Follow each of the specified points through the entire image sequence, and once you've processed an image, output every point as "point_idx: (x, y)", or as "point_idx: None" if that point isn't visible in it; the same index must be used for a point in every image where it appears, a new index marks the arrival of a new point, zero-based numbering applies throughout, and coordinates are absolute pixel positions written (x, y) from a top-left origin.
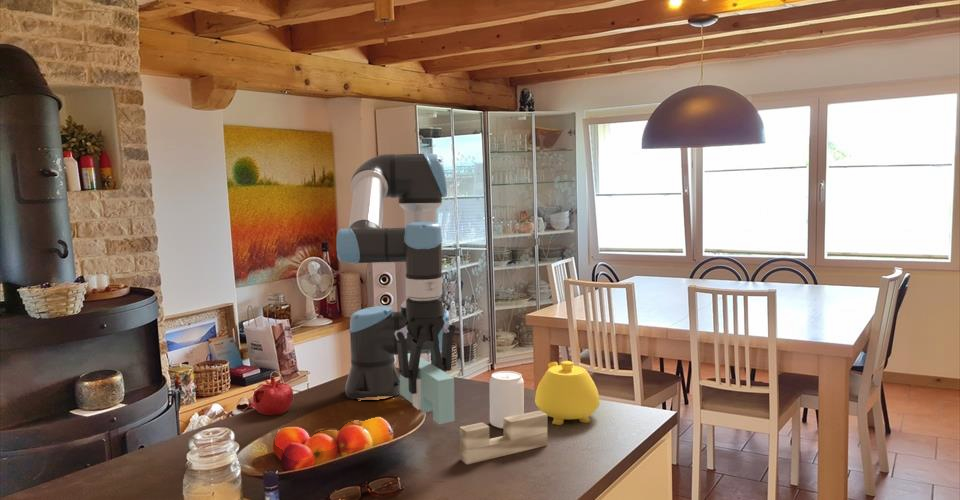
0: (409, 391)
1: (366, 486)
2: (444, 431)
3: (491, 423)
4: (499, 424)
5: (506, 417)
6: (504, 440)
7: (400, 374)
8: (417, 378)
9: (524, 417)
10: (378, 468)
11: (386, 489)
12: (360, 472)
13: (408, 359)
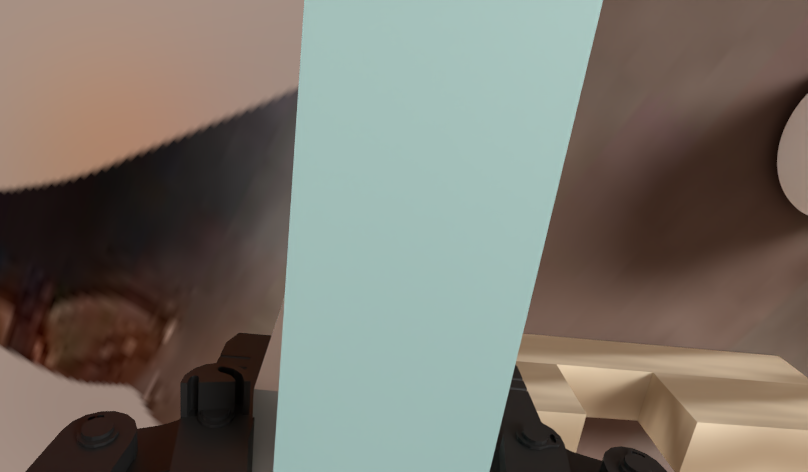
0: (235, 338)
1: (35, 326)
2: None
3: (787, 128)
4: (788, 182)
5: (711, 426)
6: (619, 409)
7: (87, 417)
8: (266, 468)
9: (764, 465)
10: (130, 216)
11: (95, 382)
12: (48, 207)
13: (327, 198)
